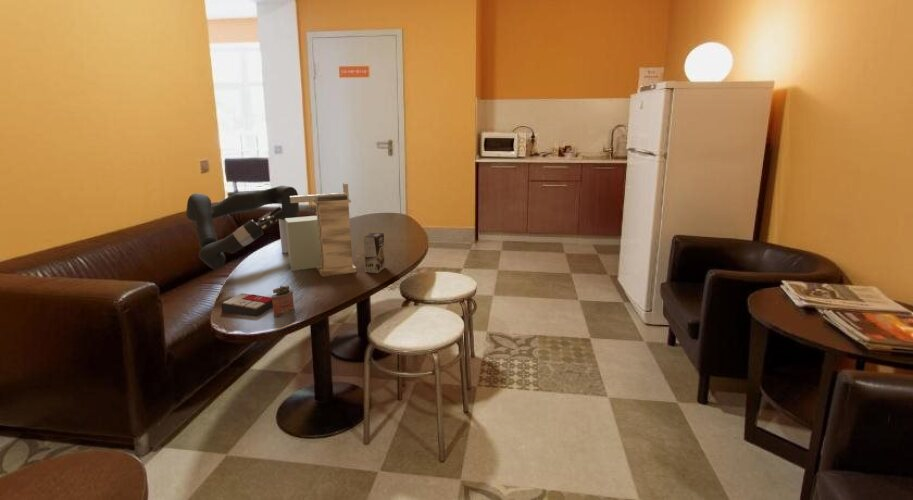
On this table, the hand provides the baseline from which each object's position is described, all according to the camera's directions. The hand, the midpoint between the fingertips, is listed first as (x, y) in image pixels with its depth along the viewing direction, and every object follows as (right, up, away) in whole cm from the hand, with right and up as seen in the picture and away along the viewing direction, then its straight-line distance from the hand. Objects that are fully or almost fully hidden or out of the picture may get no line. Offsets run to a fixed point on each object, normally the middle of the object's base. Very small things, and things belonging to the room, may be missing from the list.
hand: (282, 210), depth 206 cm
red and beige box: (-2, -38, -27) cm, 47 cm away
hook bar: (+14, +5, +6) cm, 16 cm away
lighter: (+12, -39, -31) cm, 51 cm away
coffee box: (+36, -26, +18) cm, 47 cm away
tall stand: (+19, -26, +16) cm, 36 cm away
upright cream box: (+4, -24, +25) cm, 34 cm away
